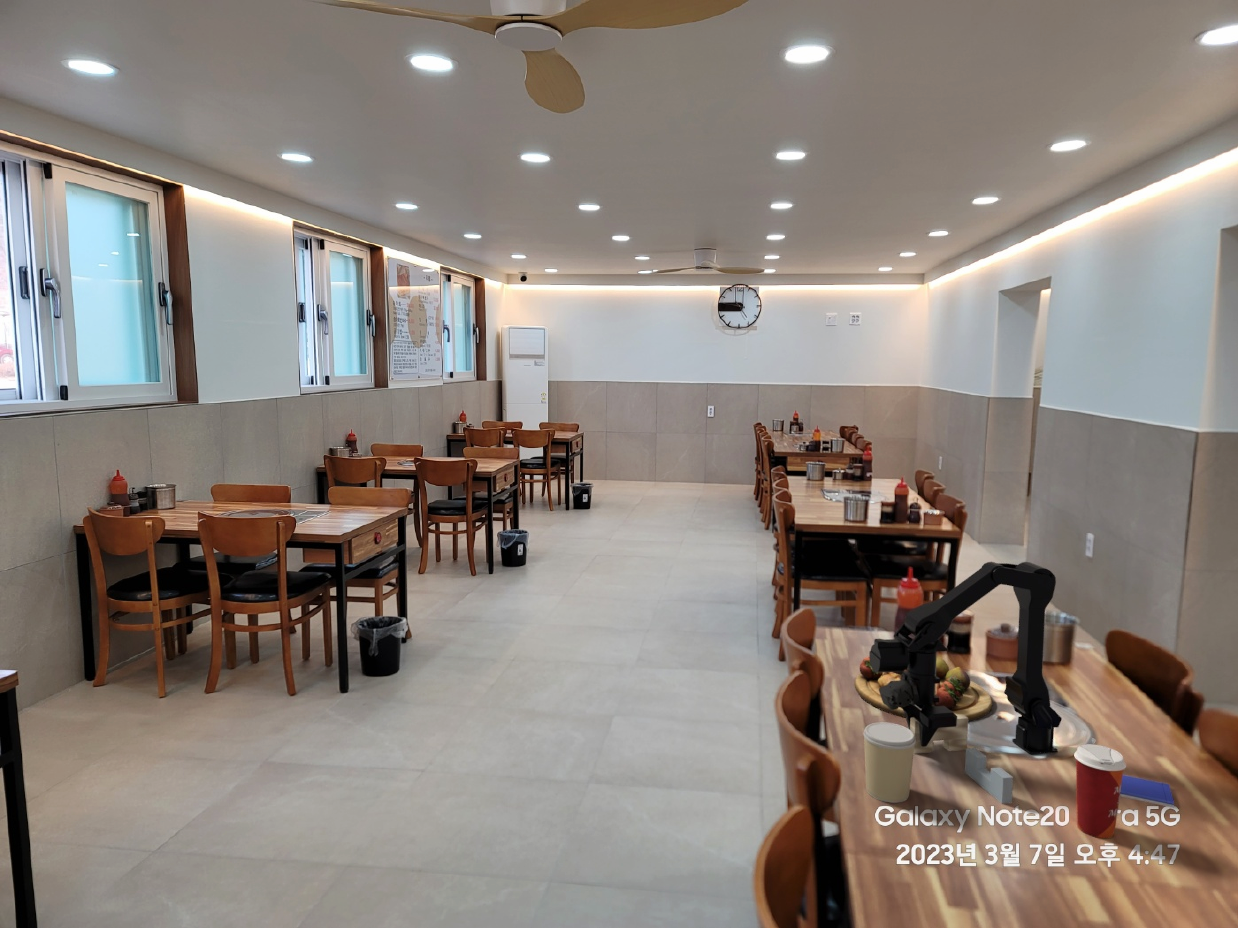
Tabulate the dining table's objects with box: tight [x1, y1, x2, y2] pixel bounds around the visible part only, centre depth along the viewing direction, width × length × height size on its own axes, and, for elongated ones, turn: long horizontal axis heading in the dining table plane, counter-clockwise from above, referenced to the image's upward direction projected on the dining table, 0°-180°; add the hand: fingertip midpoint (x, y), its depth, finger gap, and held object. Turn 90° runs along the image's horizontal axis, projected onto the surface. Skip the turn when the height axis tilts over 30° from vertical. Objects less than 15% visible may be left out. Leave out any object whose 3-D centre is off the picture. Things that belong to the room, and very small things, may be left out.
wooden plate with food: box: [854, 655, 993, 722], centre depth 197 cm, size 32×32×8 cm
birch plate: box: [910, 714, 969, 755], centre depth 168 cm, size 12×2×7 cm, turn 98°
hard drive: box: [1120, 774, 1175, 808], centre depth 152 cm, size 2×8×12 cm
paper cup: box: [1073, 743, 1127, 839], centre depth 138 cm, size 8×8×14 cm
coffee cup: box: [863, 721, 916, 804], centre depth 150 cm, size 9×9×12 cm
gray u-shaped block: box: [964, 747, 1014, 805], centre depth 152 cm, size 2×12×5 cm, turn 8°
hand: (918, 741), depth 167 cm, fingers open, 4 cm apart
